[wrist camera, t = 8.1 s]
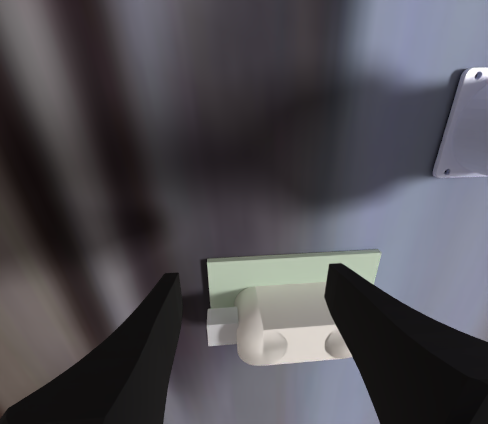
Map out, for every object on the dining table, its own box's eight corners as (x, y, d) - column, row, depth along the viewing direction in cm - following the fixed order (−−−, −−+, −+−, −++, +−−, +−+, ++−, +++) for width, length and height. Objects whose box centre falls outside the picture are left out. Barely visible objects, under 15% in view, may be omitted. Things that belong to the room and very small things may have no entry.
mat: (377, 249, 24) (381, 252, 24) (359, 326, 28) (362, 331, 28) (207, 258, 23) (207, 262, 23) (213, 338, 27) (213, 343, 27)
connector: (348, 280, 25) (377, 321, 20) (341, 311, 26) (367, 356, 22) (207, 289, 24) (205, 334, 19) (210, 321, 25) (208, 370, 21)
